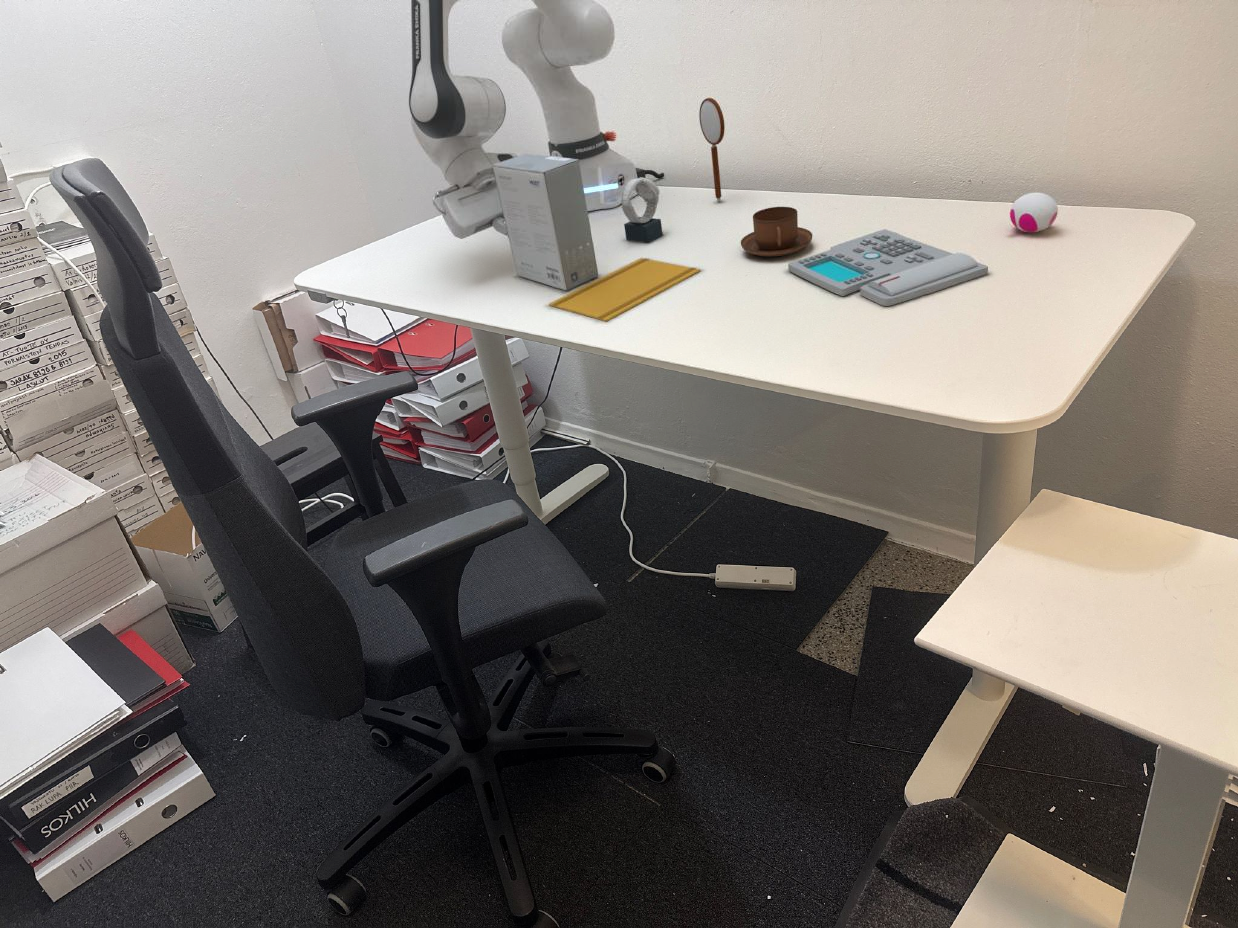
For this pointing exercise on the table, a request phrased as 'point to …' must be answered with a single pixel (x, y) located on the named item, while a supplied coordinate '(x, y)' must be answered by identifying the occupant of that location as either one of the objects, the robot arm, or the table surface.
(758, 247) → the cup and saucer
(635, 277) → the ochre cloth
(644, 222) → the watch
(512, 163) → the hard drive box
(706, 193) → the table surface
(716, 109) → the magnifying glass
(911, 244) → the office telephone
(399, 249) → the table surface
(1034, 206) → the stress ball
